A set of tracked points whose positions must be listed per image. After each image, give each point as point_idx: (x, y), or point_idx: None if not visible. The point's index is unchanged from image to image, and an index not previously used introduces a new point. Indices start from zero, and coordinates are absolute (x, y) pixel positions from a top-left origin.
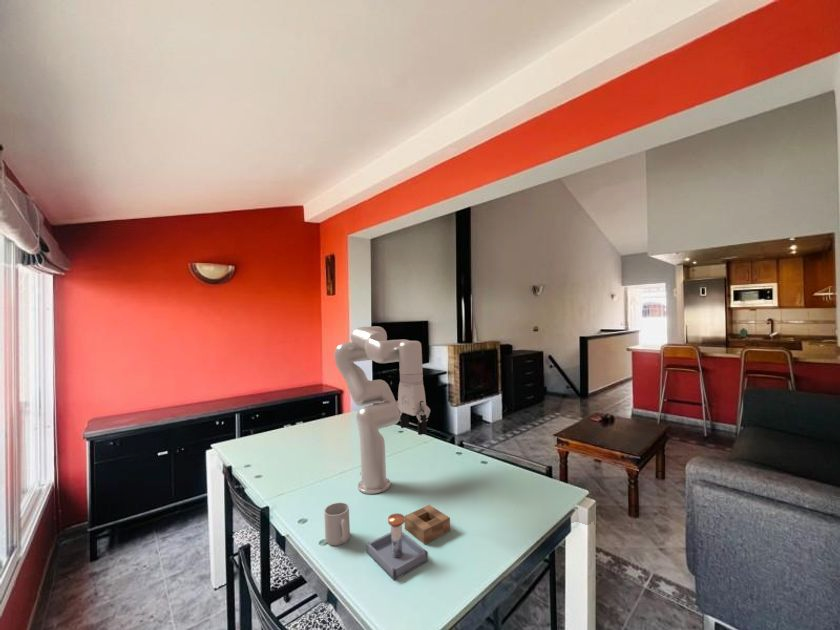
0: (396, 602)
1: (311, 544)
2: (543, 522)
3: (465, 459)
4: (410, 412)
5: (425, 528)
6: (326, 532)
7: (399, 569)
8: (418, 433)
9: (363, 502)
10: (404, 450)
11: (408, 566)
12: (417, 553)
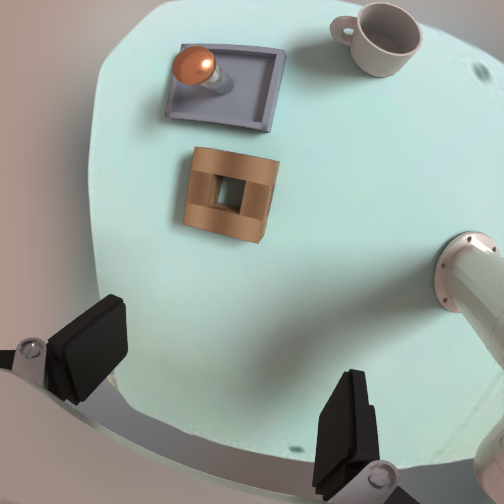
0: (158, 33)
1: None
2: None
3: None
4: (25, 412)
5: (197, 154)
6: (381, 23)
7: None
8: (111, 297)
9: (446, 196)
10: (468, 417)
11: None
12: (194, 113)
